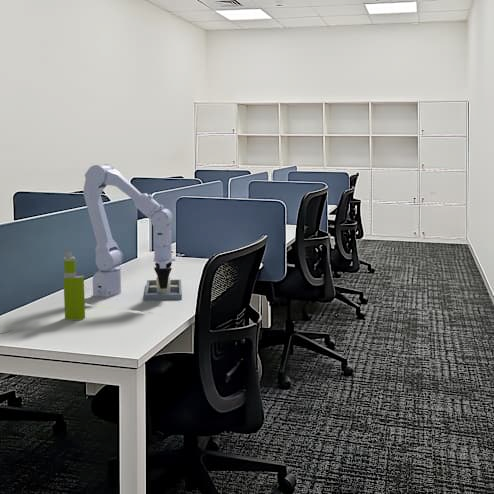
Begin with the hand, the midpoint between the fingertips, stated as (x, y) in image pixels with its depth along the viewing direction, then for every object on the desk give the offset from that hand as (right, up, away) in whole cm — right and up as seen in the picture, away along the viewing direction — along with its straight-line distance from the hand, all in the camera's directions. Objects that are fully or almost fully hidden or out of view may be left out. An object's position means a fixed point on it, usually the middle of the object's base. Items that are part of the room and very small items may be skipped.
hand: (163, 285), depth 228 cm
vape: (-23, -8, -26) cm, 35 cm away
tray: (-1, -3, +6) cm, 7 cm away
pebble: (0, -3, +1) cm, 3 cm away
